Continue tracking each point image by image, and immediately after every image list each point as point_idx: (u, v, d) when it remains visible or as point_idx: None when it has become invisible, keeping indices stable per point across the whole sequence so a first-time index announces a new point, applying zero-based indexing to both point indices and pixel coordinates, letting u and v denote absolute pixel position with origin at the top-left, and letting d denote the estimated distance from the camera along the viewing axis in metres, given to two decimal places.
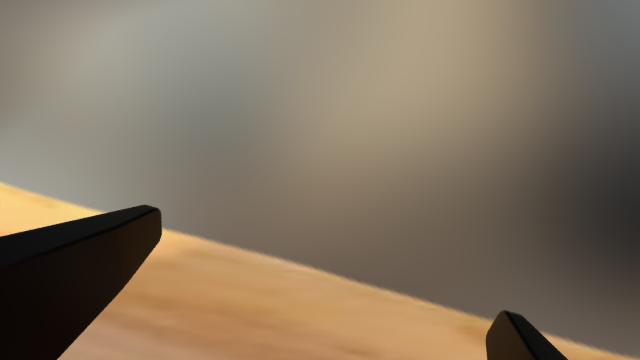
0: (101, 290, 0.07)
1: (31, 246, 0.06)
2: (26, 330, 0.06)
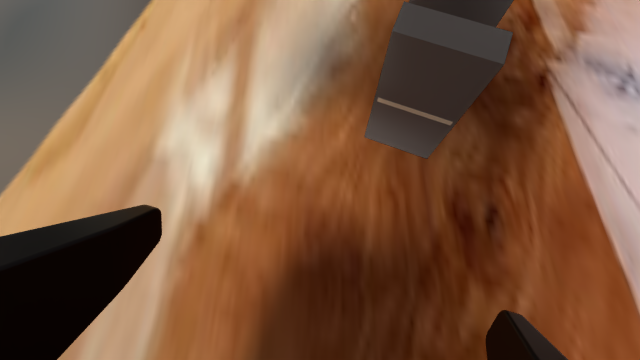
0: (101, 290, 0.07)
1: (31, 246, 0.06)
2: (26, 330, 0.06)
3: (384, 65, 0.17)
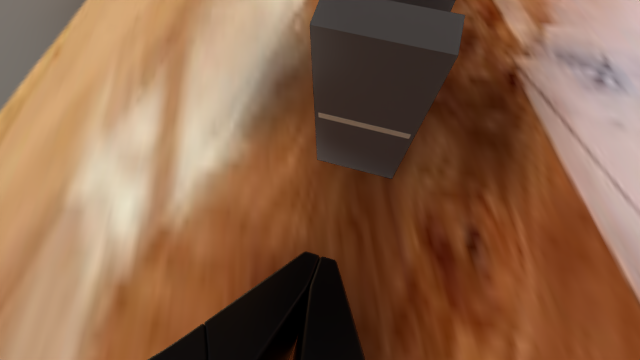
0: (287, 352, 0.07)
1: (261, 321, 0.05)
2: None
3: (314, 71, 0.13)
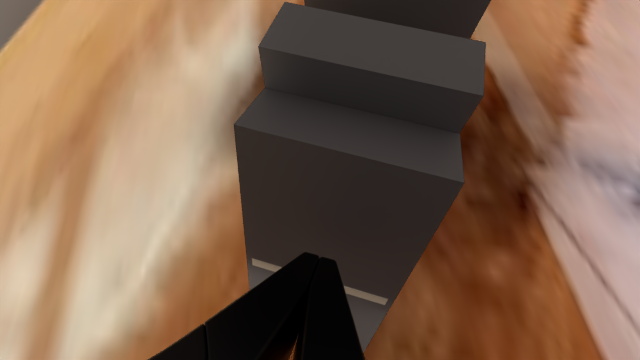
0: (287, 352, 0.07)
1: (260, 321, 0.05)
2: None
3: (243, 198, 0.09)
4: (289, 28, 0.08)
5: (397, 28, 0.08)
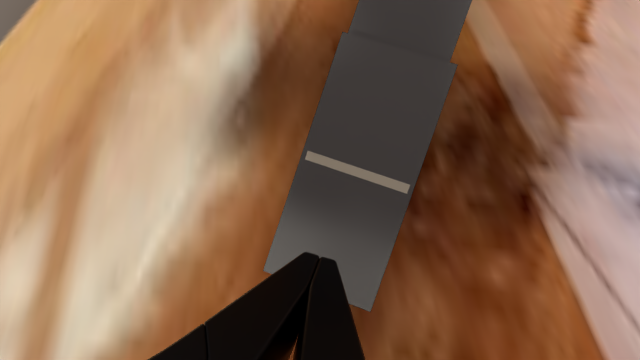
0: (287, 352, 0.07)
1: (260, 320, 0.05)
2: None
3: (326, 85, 0.14)
4: None
5: None
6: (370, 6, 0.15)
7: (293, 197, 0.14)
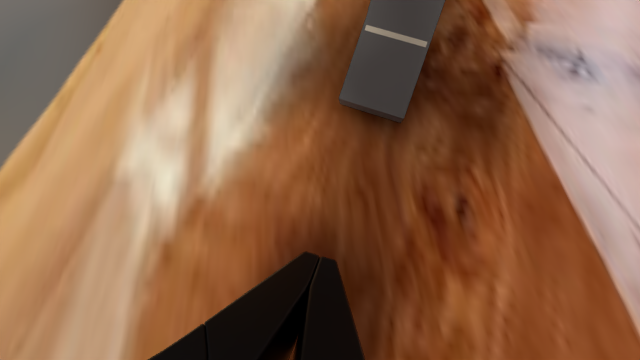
0: (287, 352, 0.07)
1: (260, 320, 0.05)
2: None
3: None
4: None
5: None
6: None
7: (357, 53, 0.24)
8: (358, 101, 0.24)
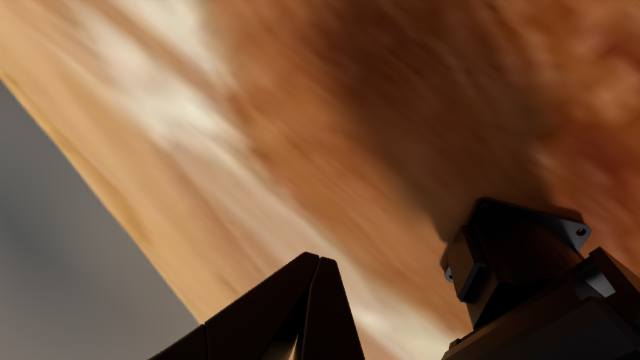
0: (287, 352, 0.07)
1: (260, 321, 0.05)
2: None
3: None
4: None
5: None
6: None
7: None
8: None
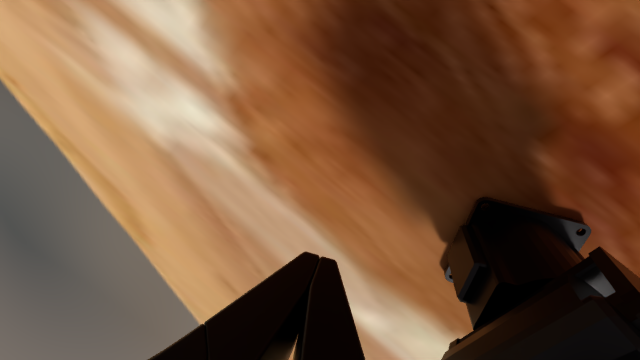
0: (287, 352, 0.07)
1: (261, 321, 0.05)
2: None
3: None
4: None
5: None
6: None
7: None
8: None
